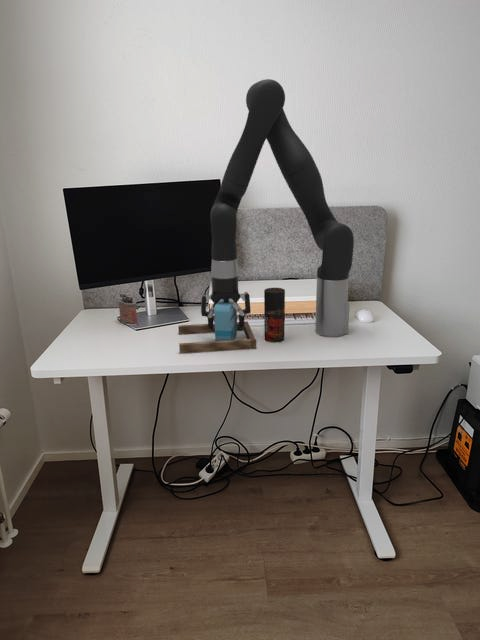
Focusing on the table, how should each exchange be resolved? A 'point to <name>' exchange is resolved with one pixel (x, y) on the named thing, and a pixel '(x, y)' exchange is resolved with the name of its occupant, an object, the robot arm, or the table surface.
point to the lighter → (127, 309)
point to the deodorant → (274, 315)
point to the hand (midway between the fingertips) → (226, 328)
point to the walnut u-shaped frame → (215, 345)
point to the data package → (225, 321)
